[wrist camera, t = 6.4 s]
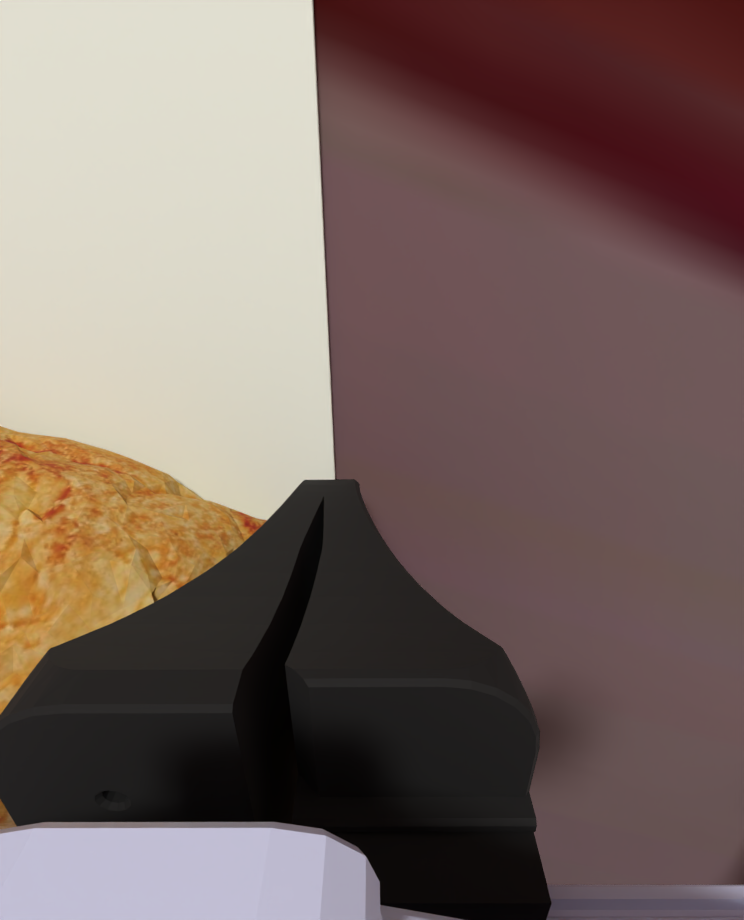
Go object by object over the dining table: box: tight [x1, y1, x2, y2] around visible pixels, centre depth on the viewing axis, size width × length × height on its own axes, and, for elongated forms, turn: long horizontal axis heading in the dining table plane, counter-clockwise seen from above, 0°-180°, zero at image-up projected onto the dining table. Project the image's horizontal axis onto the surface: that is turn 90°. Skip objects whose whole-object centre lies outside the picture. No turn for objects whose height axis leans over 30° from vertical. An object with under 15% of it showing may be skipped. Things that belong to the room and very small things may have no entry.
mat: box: [0, 0, 335, 520], centre depth 12 cm, size 12×20×1 cm, turn 0°
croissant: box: [0, 426, 267, 830], centre depth 12 cm, size 21×10×8 cm, turn 52°
